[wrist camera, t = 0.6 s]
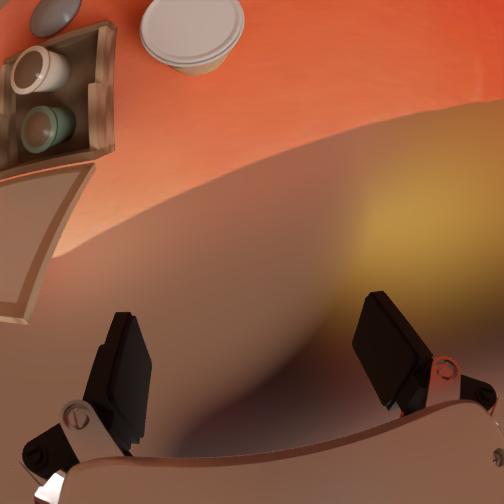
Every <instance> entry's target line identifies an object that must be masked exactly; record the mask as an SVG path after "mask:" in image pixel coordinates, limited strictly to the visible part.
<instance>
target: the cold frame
mask: <svg viewBox="0 0 504 504" xmlns="http://www.w3.org/2000/svg"><path fill="white" fill-rule="evenodd" d="M116 34H117V27H116V26H115V25H114V24H113V23H111V22H110V21H109V20H108V21H104V22H100V23H97V24H93V25H90V26H86V27H83V28H80V29H76V30H73V31H70V32H68V33H65V34H62V35H59V36H56V37H54V38H51V39H49V40H46V41H44V42H41V43H39V44H37V45H38V46H42V47H45V48H46V49H47V50H48V51H51V52H55V53H58V54H62V55H65V56H67V57H68V58H69V59H70V60H71V63H72V72H71V75H70V78H69V80H68V81H67V83H66V84H65V85H64V86H63V87H62V88H61V89H60V90H58V91H56V92H32V93H29V94H18V93H16V92H15V91H14V90H13V88H12V86H11V72H12V69H13V66H14V64H15V62H16V60H17V59H18V57H19V56H20V55H21V54H22V53H23V52H24V51H25V50H24V51H22V52H20V53H18V54H16V55H14V56H12V57H10V58H8V59H6V60H4V64H3V66H1V75H0V180H1V179H5V178H9V177H12V176H16V175H20V174H24V173H28V172H33V171H37V170H42V169H46V168H51V167H56V166H61V165H66V164H72V163H78V162H83V161H90V160H95V159H98V158H100V157H102V156H104V155H107V154H109V153H111V152H114V151H115V141H114V114H113V85H114V60H115V45H116ZM37 45H35V46H37ZM37 106H48V107H50V108H54V107H67V108H69V109H71V110H72V111H73V112H74V114H75V117H76V129H75V132H74V134H73V135H72V137H71V138H70V139H69V140H68V141H66V142H65V143H61V144H58V145H55V146H51V147H49V148H48V149H47V150H45V151H43V152H40V153H32V152H30V151H28V150H27V149H26V148H25V147H24V145H23V142H22V139H21V127H22V123H23V120H24V118H25V116H26V115H27V113H28V112H29V111H30V110H31V109H33V108H35V107H37Z"/></svg>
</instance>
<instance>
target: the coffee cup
mask: <svg viewBox="0 0 504 504" xmlns="http://www.w3.org/2000/svg"><path fill="white" fill-rule="evenodd" d="M243 28H244V13H243V10H242V7H241V5H240V3H239V2H238V0H153V2H152V3H151V4H150V5H149V6H148V8H147V9H146V11H145V12H144V14H143V17H142V19H141V23H140V38H141V41H142V44H143V46H144V48H145V49H146V50H147V52H148V53H149V54H150V55H151V56H152V57H154V58H155V59H157V60H158V61H160V62H162V63H165V64H167V65H168V66H170V67H172V68H173V69H175V70H177V71H178V72H181V73H183V74H186V75H194V76H195V75H203V74H206V73H209V72H211V71H213V70H215V69H216V68H218V67H219V66H220V65H221V64H222V63H223V61H224V60H225V59H226V57H227V56H228V54H229V52H230V51H231V49H232V48H233V46H234V45H235V44H236V43H237V41H238V40H239V38H240V36H241V34H242V31H243Z"/></svg>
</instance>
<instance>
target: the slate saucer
mask: <svg viewBox="0 0 504 504" xmlns="http://www.w3.org/2000/svg"><path fill="white" fill-rule="evenodd" d="M80 5H81V0H42V1H41V2H40V3H39V5H38V6H37V7H36V9H35V11H34V13H33V15H32V17H31V21H30V29H31V32H32V33H33V34H34V35H35V36H37V37H41V38H46V37H50V36H53V35H55V34H57V33H58V32H60V31H61V30H62V29H64V28H65V27H66V26H67V25H68V24H69V23H70V22H71V21H72V19H73V18H74V17H75V15H76V14H77V12H78V10H79V8H80Z"/></svg>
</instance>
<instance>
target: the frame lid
mask: <svg viewBox="0 0 504 504" xmlns="http://www.w3.org/2000/svg"><path fill="white" fill-rule="evenodd" d="M95 170H96V166H95V163H89V164H82V165H76V166H71V167H65V168H60V169H55V170H50V171H45V172H40V173H35V174H31V175H27V176H22V177H18V178H14V179H11V180H7V181H3V182H0V321H4V322H11V323H19V324H27V325H29V323H30V320H31V316H32V312H33V309H34V306H35V303H36V299H37V296H38V293H39V290H40V287H41V284H42V281H43V279H44V276H45V273H46V271H47V268H48V265H49V263H50V260H51V258H52V255H53V253H54V251H55V248H56V246H57V243H58V241H59V239H60V237H61V234H62V232H63V230H64V228H65V226H66V224H67V222H68V220H69V218H70V216H71V214H72V212H73V210H74V208H75V206H76V204H77V202H78V200H79V198H80V196H81V194H82V192H83V191H84V189H85V187H86V185H87V184H88V182H89V180H90V178H91V177H92V175H93V173H94V172H95Z"/></svg>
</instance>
